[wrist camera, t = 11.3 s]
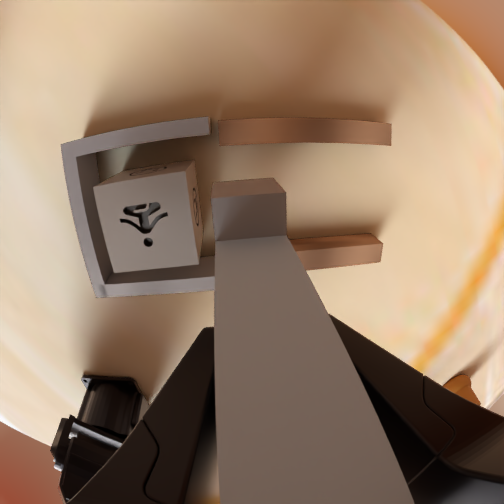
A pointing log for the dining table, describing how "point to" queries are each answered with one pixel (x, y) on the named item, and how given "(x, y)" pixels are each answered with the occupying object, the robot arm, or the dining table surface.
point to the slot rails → (320, 131)
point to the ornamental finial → (462, 388)
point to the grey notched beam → (285, 371)
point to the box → (89, 226)
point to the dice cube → (151, 217)
